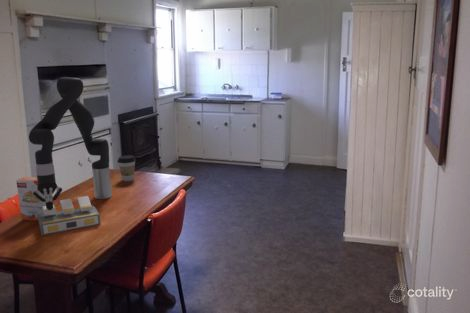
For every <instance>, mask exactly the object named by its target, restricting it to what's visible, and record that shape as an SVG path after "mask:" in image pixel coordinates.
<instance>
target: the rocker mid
mask: <svg viewBox="0 0 470 313" xmlns="http://www.w3.org/2000/svg"><path fill="white" fill-rule="evenodd" d="M59 202H60V208H61V211H62V212H63V215H66V214H72V213H74V209H75V207H74V204H73V201H72V198H66V199H60V200H59Z"/></svg>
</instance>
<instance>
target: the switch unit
mask: <svg viewBox="0 0 470 313" xmlns="http://www.w3.org/2000/svg"><path fill="white" fill-rule="evenodd" d="M91 206H92V210H89V211H83V212H81V210H80V207H79V208H74V213H72V214H66V215H63V212H62V210H61V211H56V213H52V214H46V215H45V214H43V215H38V220H39V221H38V226H39V230H40V233H41V234H40V235H41V236H46V235H50V234H55V233H61V232H66V231H72V230H78V229H83V228H87V227H93V226H99V225H101V214H100V212H99V211H98V210H97V207H95V206H94V205H91Z"/></svg>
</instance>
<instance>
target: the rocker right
mask: <svg viewBox="0 0 470 313" xmlns="http://www.w3.org/2000/svg"><path fill="white" fill-rule="evenodd" d="M77 203H78V206H79V208H80V210H81V212H83V211H89V210H92V206H93V205H92V204H91V201H90V198H89V195H85V196H79V197H77Z"/></svg>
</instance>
